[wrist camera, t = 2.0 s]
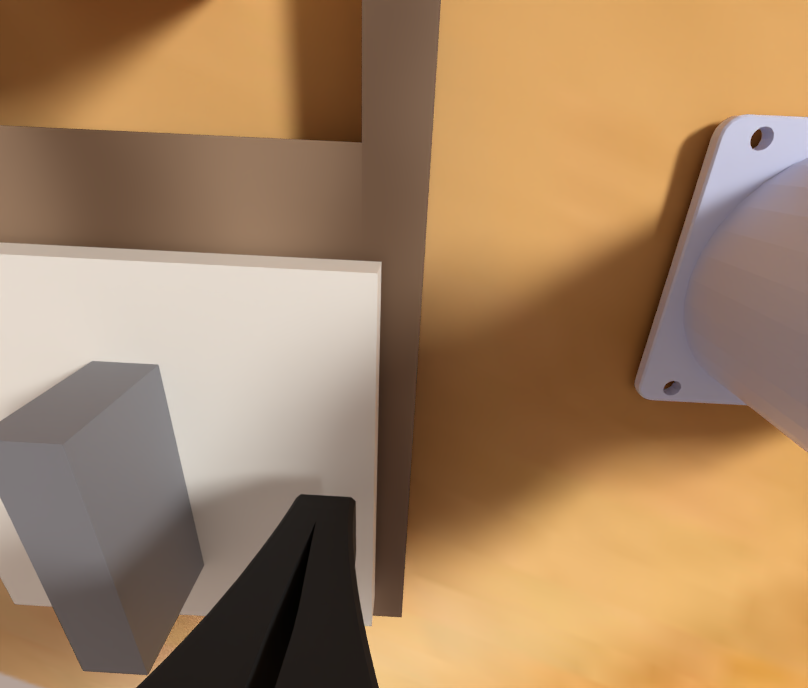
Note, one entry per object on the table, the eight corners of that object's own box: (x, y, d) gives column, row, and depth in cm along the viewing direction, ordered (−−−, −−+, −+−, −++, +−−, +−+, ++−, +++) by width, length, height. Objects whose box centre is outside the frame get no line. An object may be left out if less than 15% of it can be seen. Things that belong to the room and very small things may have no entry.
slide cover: (381, 261, 10) (360, 328, 6) (374, 597, 15) (360, 740, 11) (-124, 235, 10) (-430, 286, 6) (38, 577, 15) (-81, 712, 12)
